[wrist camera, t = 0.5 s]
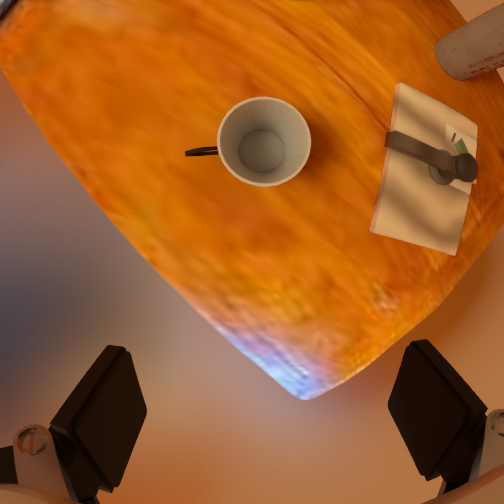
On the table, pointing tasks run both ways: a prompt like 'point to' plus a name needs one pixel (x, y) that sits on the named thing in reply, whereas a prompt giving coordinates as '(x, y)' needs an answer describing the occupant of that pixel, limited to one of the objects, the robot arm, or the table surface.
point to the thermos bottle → (474, 46)
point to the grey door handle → (435, 157)
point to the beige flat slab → (424, 175)
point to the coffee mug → (261, 141)
